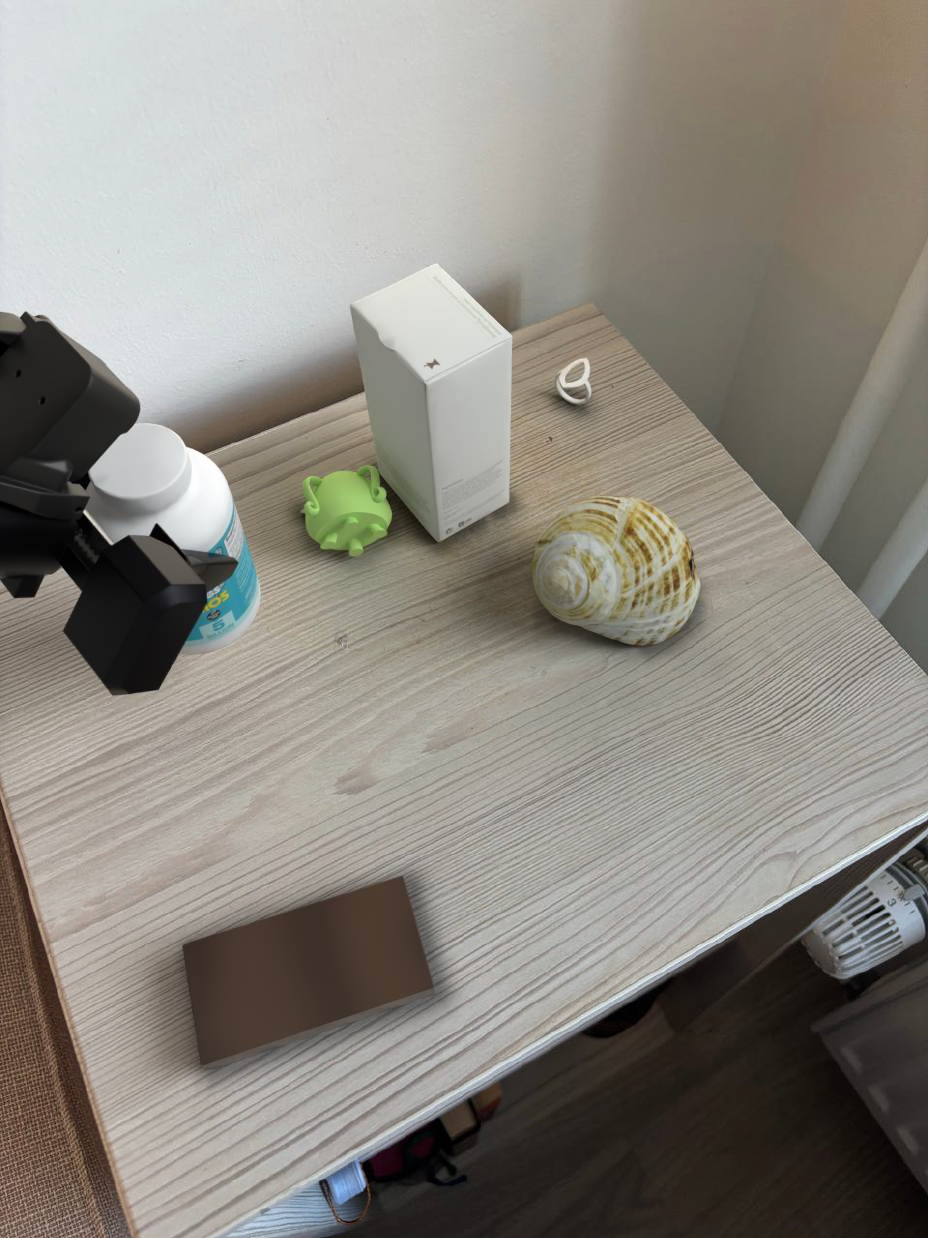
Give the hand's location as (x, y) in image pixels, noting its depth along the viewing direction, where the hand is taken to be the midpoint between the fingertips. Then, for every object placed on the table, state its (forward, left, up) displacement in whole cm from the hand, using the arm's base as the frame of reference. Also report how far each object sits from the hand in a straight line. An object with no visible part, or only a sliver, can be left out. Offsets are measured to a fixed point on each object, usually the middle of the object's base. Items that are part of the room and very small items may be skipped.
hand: (193, 523), depth 50 cm
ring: (+28, +13, -12) cm, 33 cm away
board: (0, -22, -12) cm, 25 cm away
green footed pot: (+9, +6, -12) cm, 16 cm away
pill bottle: (-1, -1, -7) cm, 7 cm away
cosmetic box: (+16, +8, -12) cm, 21 cm away
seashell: (+24, -4, -12) cm, 27 cm away
